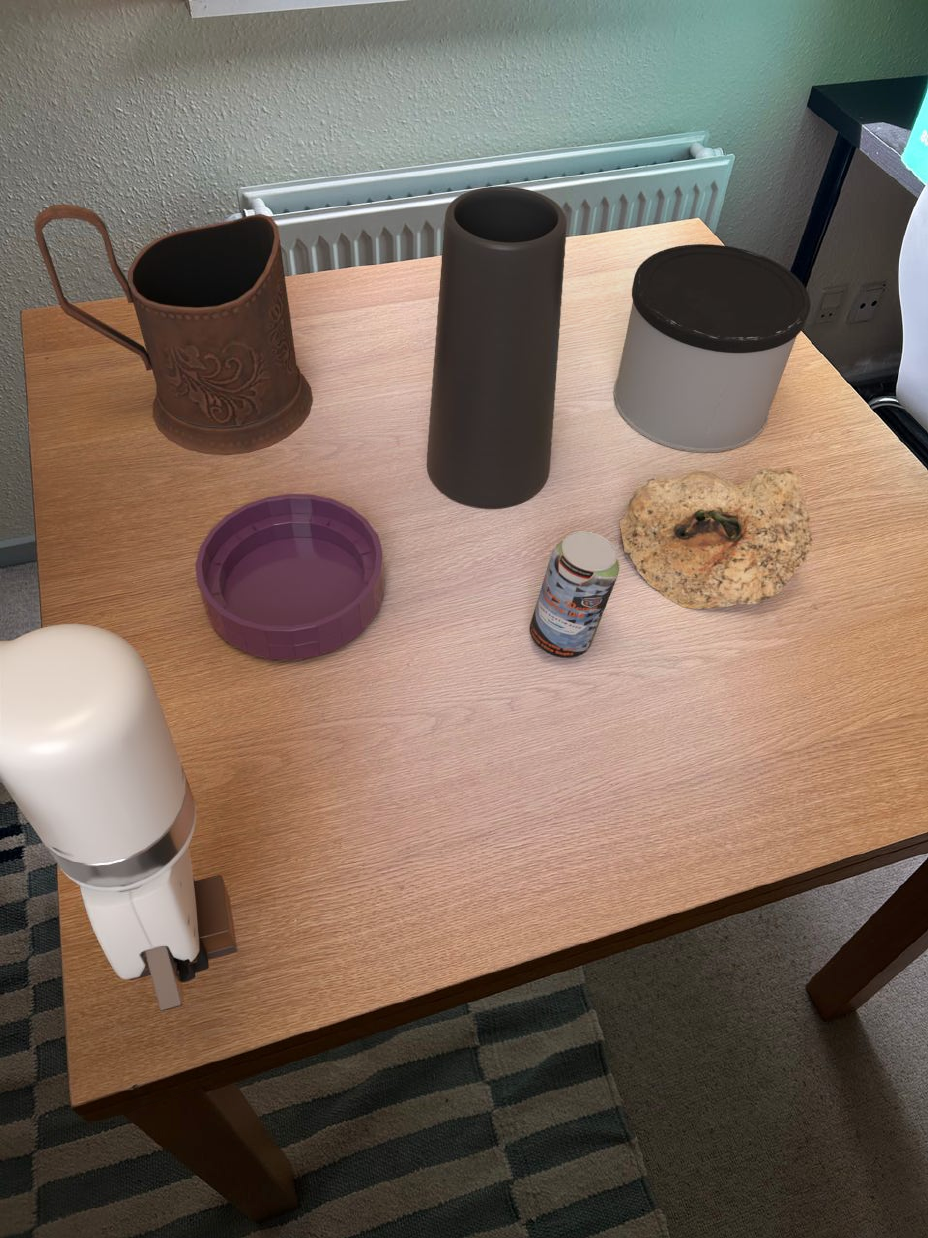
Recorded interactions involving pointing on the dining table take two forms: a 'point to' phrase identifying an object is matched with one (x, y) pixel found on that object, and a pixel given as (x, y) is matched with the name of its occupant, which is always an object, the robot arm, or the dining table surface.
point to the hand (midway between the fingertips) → (180, 936)
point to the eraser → (211, 919)
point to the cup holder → (208, 331)
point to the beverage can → (574, 594)
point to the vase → (496, 346)
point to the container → (707, 345)
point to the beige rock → (718, 536)
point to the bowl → (291, 576)
